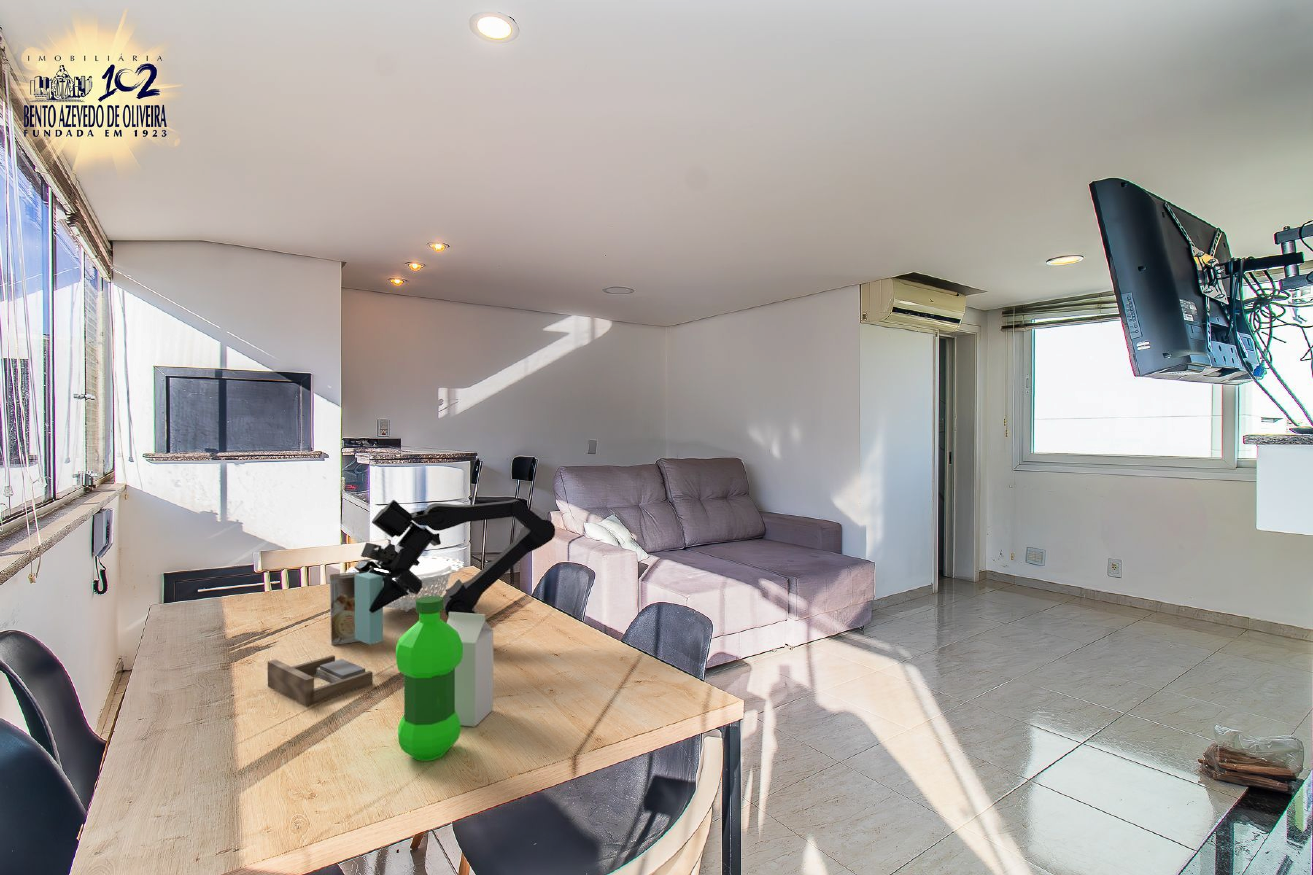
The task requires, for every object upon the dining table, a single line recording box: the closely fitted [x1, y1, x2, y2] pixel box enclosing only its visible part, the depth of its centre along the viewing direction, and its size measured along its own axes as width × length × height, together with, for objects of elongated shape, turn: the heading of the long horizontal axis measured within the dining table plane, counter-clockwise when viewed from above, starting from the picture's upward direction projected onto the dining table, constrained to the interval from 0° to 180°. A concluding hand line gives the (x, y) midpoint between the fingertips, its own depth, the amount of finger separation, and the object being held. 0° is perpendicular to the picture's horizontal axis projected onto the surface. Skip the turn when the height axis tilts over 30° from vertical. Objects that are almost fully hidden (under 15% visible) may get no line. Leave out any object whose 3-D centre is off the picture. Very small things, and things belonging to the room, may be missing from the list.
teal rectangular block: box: [355, 572, 384, 645], centre depth 140 cm, size 6×3×14 cm, turn 54°
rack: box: [267, 654, 374, 707], centre depth 132 cm, size 16×13×5 cm
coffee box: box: [329, 572, 360, 646], centre depth 160 cm, size 9×6×16 cm
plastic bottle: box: [395, 595, 463, 762], centre depth 105 cm, size 10×10×25 cm
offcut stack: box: [315, 658, 366, 684], centre depth 135 cm, size 11×5×2 cm, turn 54°
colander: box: [345, 555, 466, 613], centre depth 183 cm, size 32×32×13 cm
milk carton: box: [446, 612, 494, 727], centre depth 118 cm, size 7×7×19 cm
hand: (362, 609), depth 139 cm, fingers closed on teal rectangular block, 6 cm apart
